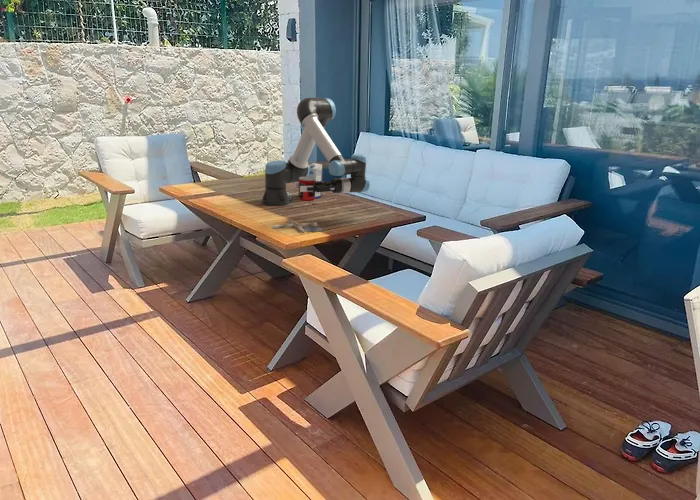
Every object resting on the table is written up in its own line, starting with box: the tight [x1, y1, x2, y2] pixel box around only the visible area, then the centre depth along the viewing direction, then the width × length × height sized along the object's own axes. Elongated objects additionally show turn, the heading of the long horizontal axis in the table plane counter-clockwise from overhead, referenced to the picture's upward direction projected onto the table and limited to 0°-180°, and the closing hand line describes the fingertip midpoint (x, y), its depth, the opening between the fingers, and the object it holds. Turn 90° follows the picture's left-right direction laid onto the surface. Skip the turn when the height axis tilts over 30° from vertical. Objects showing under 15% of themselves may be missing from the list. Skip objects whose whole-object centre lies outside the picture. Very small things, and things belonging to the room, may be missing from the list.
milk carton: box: [308, 162, 323, 200], centre depth 325 cm, size 7×7×20 cm
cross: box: [272, 218, 324, 233], centre depth 265 cm, size 22×22×1 cm
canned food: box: [298, 177, 315, 202], centre depth 270 cm, size 8×8×11 cm
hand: (297, 187), depth 267 cm, fingers closed on canned food, 8 cm apart
